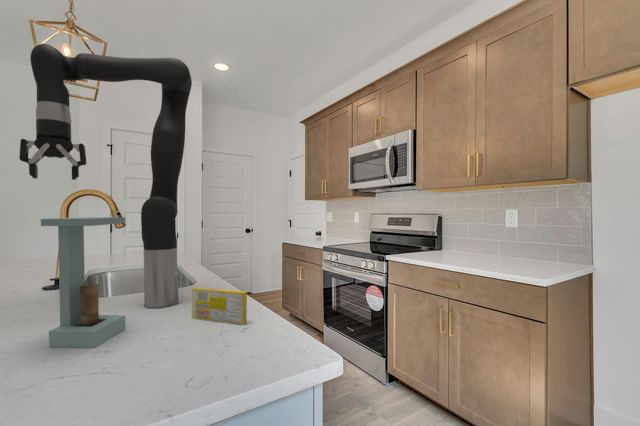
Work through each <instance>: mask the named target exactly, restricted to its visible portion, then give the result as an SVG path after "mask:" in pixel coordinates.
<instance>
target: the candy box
mask: <svg viewBox="0 0 640 426" xmlns="http://www.w3.org/2000/svg"><path fill="white" fill-rule="evenodd" d="M247 292H248V291H244V290H234V289H233V290H232V289H223V288H222V289H221V288H211V287H210V288H209V287H199V286H195V287H192V289H191V319H194V318H195V319H197V320H201V319H204V320H203V321H209V320H213V321H212V322H217V321H221V322H220V323H224V322H228V323H227V324H232V323H235V324H234V325H240V324H244V325H245V324H247V323H246V322H247V321H248V320H247V318H248V317H247V315H248V314H247V312H248V310H247V308H248V307H247V304H248V302H247V301H248V300H247V299H248V297H247V296H248V293H247Z"/></svg>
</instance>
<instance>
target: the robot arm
mask: <svg viewBox="0 0 640 426" xmlns="http://www.w3.org/2000/svg"><path fill="white" fill-rule="evenodd" d="M30 66H31V71H32V75H33V79H34V81H35V85H36V107H35V129H36V130H35V133H36V135H35V136H36V138H35V140H30V139H29V140H27V139H25V138H21V139H20V141H19V142H20V144H19V160H20V161H21V162H23V163H27V164H28V173H29V176H30V177H32V179H38V177H39V175H38V174H39V173H38V171H39V170H38V169H39V168H38V165H37V164H38V163H39V162H40V161H41V160H42V159H44V158H45V157H46V158H57V159H63V158H66V160H67V161H68V162H70V164H72V166H71V181H72V180H74V181H76V180H77V179H78V178H79V176H80V170H79V168H80V167H81V166H86V165H87V162H88V161H87V152H86V146H85V145H84V143H79V144H78V143H77V144H76V143H73V142H72V118H71V117H72V116H71V109H70V91H69V89H68V88H67V86H66V84H65V81H69V82H70V81H83V80H89V81H96V82H97V81H99V82H107V83H115V82H116V83H118V82H119V83H120V82H121V83H122V82H127V81H149V82H153V83H156V84H157V83H158V84H161V106H160V110H159V114H158V116H157V117H156V121H155V124H154V127H153V131H152V136H151V145H150V164H151V165H150V166H151V174H152V180H151V181H152V183H151V191H150V195H149V198H148V199H147V200H145V201H144V203H142V206H141V210H140V223H141V224H140V225H141V226H140V227H141V240H142V242H143V243H142V244H143V288H144V289H143V291H144V292H143V293H144V296H143V297H144V298H143V301H144V307H145V308H150V309H155V308H156V309H157V308H166V307H170V306H173V305H176V304H180V298H179V297H180V296H179V272H178V239H177V229H176V218H177V216H178V183H179V177H180V174H181V170H182V165H183V164H182V163H183V156H184V152H185V151H184V150H185V144H186V143H185V140H186V112H187V108H188V101H189V97H190V93H191V90H192V85H193V84H192V83H193V82H192V76H191V73H190V69H189V67H188V65H187V64H186V63H185V62H184V61H182V60H181V59H178V58H175V57H155V58H154V57H153V58H152V57H151V58H150V57H149V58H148V57H147V58H146V57H145V58H144V57H119V56H117V57H116V56H109V55H102V54H95V53H94V54H93V53H86V52H83V53H82V52H79V53H78V54H76V56H74V57H73V56H66V55H64V54H63V53H62V52H61V51H60V50H58V49H57V48H56V47H55V46H53V45H51V44H47V43H38V44H37V45H35V46H34V47H33V48H32V50H31V52H30ZM33 146H35V147H36V149H38V150H37V151H36V152H35V153H34V154H33V156H31V158H29V150H30V149H32V147H33ZM73 149H75V151H76V152H78V153H79V160H76V159H75V158H74V157H73V156H72V155H71V154H70V153H71V151H72V150H73Z"/></svg>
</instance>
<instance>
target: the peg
mask: <svg viewBox="0 0 640 426" xmlns="http://www.w3.org/2000/svg"><path fill="white" fill-rule="evenodd" d="M99 312H100V310H99V284H98V283H90V284H85V285H83V286H80V327H92V326H94V325H96V324H98V323H99V315H100V314H99Z"/></svg>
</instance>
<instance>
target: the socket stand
mask: <svg viewBox="0 0 640 426" xmlns="http://www.w3.org/2000/svg"><path fill="white" fill-rule="evenodd" d="M119 224H120V225H121V224H122V225H123V224H126V217H125V216H112V217H111V216H108V217H107V216H103V217H102V216H99V217H98V216H97V217H96V216H94V217H93V216H89V217H87V216H86V217H85V216H83V217H59V218H56V217H54V218H40V227H57V229H58V230H57V231H58V235H57V236H58V277H59V278H58V279H59V283H58V286H59V322H60V323H59V324H60V325H59V326H57V327H55V328H52V329H50V330H48V347H49V348H79V349H81V348H88V349H89V348H91V349H94V348H97V347H99V346H101V344H104V343H105V342H106V341H108V340H110V339H112V338H113V337H115V336H117V335H118V334H120V333H122V332H124V331H125V330H126V315H124V314H121V315H120V314H99V323H98V324H96V325H94V326H92V327H80V286H83V285H86V283H85V280H86V279H85V230H84V228H85V227H94V226H107V225H119Z"/></svg>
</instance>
